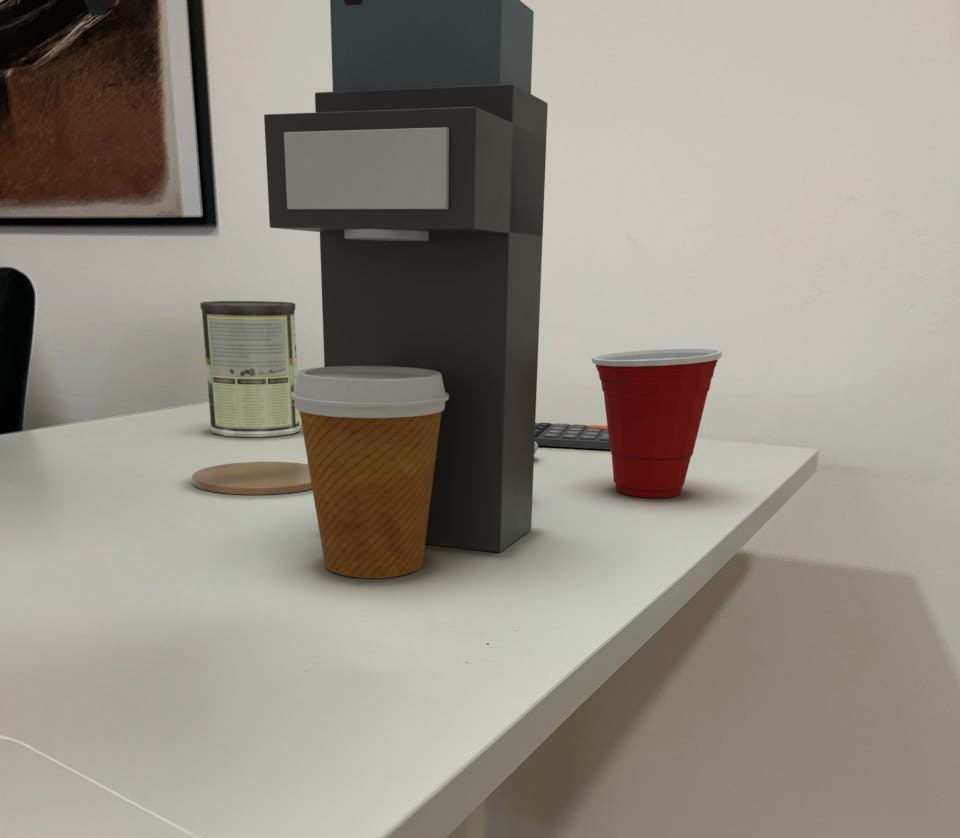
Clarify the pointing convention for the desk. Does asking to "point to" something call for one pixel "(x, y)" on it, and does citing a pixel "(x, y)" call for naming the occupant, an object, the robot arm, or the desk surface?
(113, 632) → the desk surface
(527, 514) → the coffee maker
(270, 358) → the coffee can
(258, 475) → the coaster
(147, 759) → the desk surface
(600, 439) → the calculator
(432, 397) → the disposable coffee cup
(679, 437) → the plastic cup
